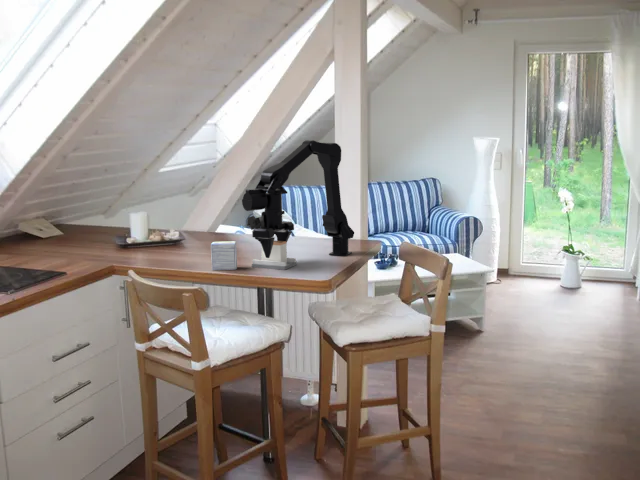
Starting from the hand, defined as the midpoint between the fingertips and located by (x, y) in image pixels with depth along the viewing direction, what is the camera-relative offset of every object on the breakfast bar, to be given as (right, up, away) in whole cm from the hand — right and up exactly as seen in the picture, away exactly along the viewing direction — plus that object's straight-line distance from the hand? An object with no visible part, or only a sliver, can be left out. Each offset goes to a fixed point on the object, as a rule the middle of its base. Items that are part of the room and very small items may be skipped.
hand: (274, 255), depth 224 cm
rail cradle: (0, -3, +1) cm, 4 cm away
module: (0, -2, 0) cm, 3 cm away
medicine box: (-16, -5, -3) cm, 17 cm away
